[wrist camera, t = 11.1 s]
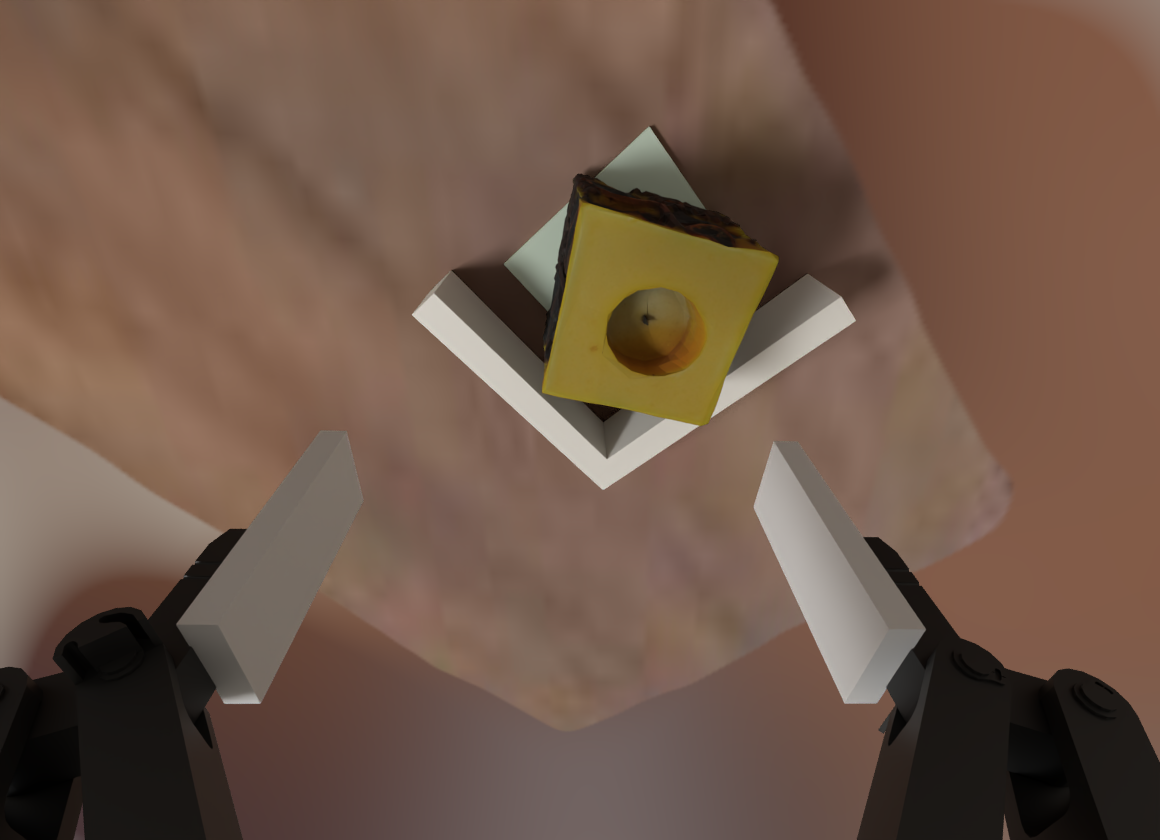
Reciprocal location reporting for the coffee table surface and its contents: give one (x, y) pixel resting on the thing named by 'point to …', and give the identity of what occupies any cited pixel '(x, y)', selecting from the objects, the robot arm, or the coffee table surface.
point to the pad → (629, 170)
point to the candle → (649, 302)
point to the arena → (627, 435)
